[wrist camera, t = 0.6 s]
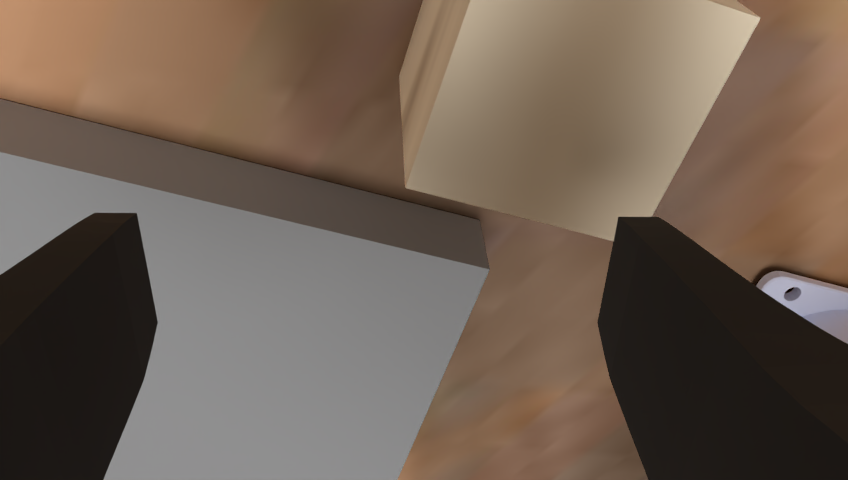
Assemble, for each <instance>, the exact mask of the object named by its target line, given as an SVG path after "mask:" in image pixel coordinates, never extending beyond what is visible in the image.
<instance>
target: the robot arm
mask: <svg viewBox="0 0 848 480" xmlns="http://www.w3.org/2000/svg"><path fill="white" fill-rule="evenodd" d="M792 287H795V288H794V289H793V290H792V291H791V292H788V293H785V292H786V291H787V290H788V289H790V288H792ZM157 324H158V321H157V315H156V310H155V305H154V300H153V295H152V289H151V284H150V279H149V274H148V268H147V263H146V258H145V253H144V248H143V242H142V237H141V232H140V227H139V222H138V216H137V213H93V214H92V215H90V216H88V217H86V218H84V219H83V220H81V221H80V222H78V223H76V224H75V225H73V226H72V227H70V228H69V229H67V230H66V231H64V232H63V233H61V234H60V235H58V236H57V237H55V238H54V239H52V240H51V241H50V242H48V243H47V244H45V245H44V246H42V247H41V248H39V249H38V250H36V251H35V252H33V253H32V254H30V255H29V256H28V257H26V258H25V259H23V260H22V261H20V262H19V263H17V264H16V265H14V266H13V267H11V268H10V269H8V270H7V271H5V272H4V273H2V274H1V275H0V480H103V479H104V477H105V474H106V472H107V470H108V467H109V465H110V462H111V460H112V457H113V455H114V453H115V450H116V448H117V445H118V443H119V440H120V438H121V436H122V433H123V431H124V428H125V426H126V424H127V421H128V419H129V416H130V414H131V411H132V409H133V406H134V404H135V401H136V399H137V396H138V394H139V391H140V388H141V386H142V383H143V381H144V377H145V374H146V370H147V366H148V362H149V358H150V355H151V350H152V346H153V342H154V337H155V333H156V329H157ZM598 327H599V332H600V336H601V341H602V346H603V351H604V355H605V359H606V363H607V368H608V372H609V376H610V379H611V382H612V385H613V388H614V390H615V393H616V396H617V398H618V401H619V404H620V406H621V409H622V412H623V414H624V417H625V420H626V422H627V425H628V428H629V430H630V433H631V435H632V438H633V440H634V443H635V446H636V448H637V451H638V453H639V456H640V459H641V461H642V464H643V466H644V469H645V472H646V474H647V477H648V479H649V480H848V288H845V287H841V286H837V285H833V284H830V283H826V282H822V281H818V280H814V279H810V278H807V277H803V276H799V275H795V274H791V273H787V272H784V271H773V272H770V273H768V274H766V275H764V276H763V277H762V278H761V279H760V281H759V282H758V284H757V285H756V286H755V285H753V284H752V283H750V282H749V281H748V280H746V279H745V278H743V277H742V276H741V275H739V274H738V273H736V272H735V271H734V270H732V269H731V268H729V267H728V266H727V265H725V264H724V263H723V262H721V261H720V260H718V259H717V258H716V257H714V256H713V255H712V254H710V253H709V252H708V251H706V250H705V249H704V248H702V247H701V246H700V245H698V244H697V243H695V242H694V241H693V240H691V239H690V238H689V237H687V236H686V235H684V234H683V233H682V232H680V231H679V230H677V229H676V228H675V227H673V226H672V225H670V224H669V223H667V222H665V221H664V220H662V219H661V218H659V217H618V221H617V226H616V232H615V237H614V242H613V247H612V252H611V257H610V262H609V267H608V272H607V277H606V283H605V288H604V293H603V298H602V303H601V308H600V313H599V318H598Z"/></svg>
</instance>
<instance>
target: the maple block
mask: <svg viewBox="0 0 848 480" xmlns="http://www.w3.org/2000/svg"><path fill="white" fill-rule="evenodd" d="M759 20H760V17H759V16H757V15H756V14H755V13H753V12H752V11H750V10H749V9H748V8H746V7H745V6H744V5H742V4H741V3H740V2H738V1H737V0H423V2H422V5H421V8H420V11H419V14H418V18H417V21H416V24H415V27H414V30H413V33H412V37H411V40H410V43H409V46H408V49H407V53H406V56H405V59H404V62H403V65H402V68H401V72H400V75H399V86H400V103H401V121H402V138H403V156H404V174H405V188H407V189H411V190H415V191H419V192H423V193H427V194H431V195H435V196H438V197H442V198H446V199H450V200H454V201H458V202H462V203H466V204H470V205H474V206H477V207H481V208H485V209H489V210H493V211H497V212H501V213H505V214H509V215H513V216H517V217H520V218H524V219H528V220H532V221H536V222H540V223H544V224H548V225H552V226H556V227H560V228H563V229H567V230H571V231H575V232H579V233H583V234H587V235H591V236H595V237H599V238H603V239H606V240H610V241H614V237H615V232H616V226H617V221H618V217H652V215H653V213H654V212H655V210H656V208H657V206H658V204H659V202H660V201H661V199H662V197H663V195H664V193H665V191H666V190H667V188H668V186H669V184H670V182H671V181H672V179H673V177H674V175H675V173H676V171H677V170H678V168H679V166H680V164H681V162H682V161H683V159H684V157H685V155H686V153H687V151H688V150H689V148H690V146H691V144H692V142H693V140H694V139H695V137H696V135H697V133H698V131H699V130H700V128H701V126H702V124H703V122H704V120H705V119H706V117H707V115H708V113H709V111H710V110H711V108H712V106H713V104H714V102H715V100H716V99H717V97H718V95H719V93H720V91H721V90H722V88H723V86H724V84H725V82H726V80H727V79H728V77H729V75H730V73H731V71H732V69H733V68H734V66H735V64H736V62H737V60H738V59H739V57H740V55H741V53H742V51H743V49H744V48H745V46H746V44H747V42H748V40H749V39H750V37H751V35H752V33H753V31H754V29H755V28H756V26H757V24H758V22H759Z"/></svg>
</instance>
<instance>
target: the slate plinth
mask: <svg viewBox="0 0 848 480" xmlns="http://www.w3.org/2000/svg"><path fill="white" fill-rule="evenodd" d="M93 213H137V216H138V222H139V227H140V232H141V237H142V242H143V248H144V253H145V258H146V263H147V268H148V274H149V279H150V284H151V289H152V295H153V300H154V305H155V310H156V315H157V321H158V324H157V329H156V333H155V337H154V342H153V346H152V350H151V355H150V358H149V362H148V366H147V370H146V374H145V377H144V381H143V383H142V386H141V388H140V391H139V394H138V396H137V399H136V401H135V404H134V406H133V409H132V411H131V414H130V416H129V419H128V421H127V424H126V426H125V428H124V431H123V433H122V436H121V438H120V440H119V443H118V445H117V448H116V450H115V453H114V455H113V457H112V460H111V462H110V465H109V467H108V470H107V472H106V474H105V477H104V479H103V480H397V479H398V477H399V475H400V472H401V470H402V468H403V465H404V463H405V461H406V459H407V456H408V454H409V452H410V450H411V447H412V445H413V443H414V440H415V438H416V436H417V434H418V431H419V429H420V427H421V425H422V422H423V420H424V418H425V416H426V413H427V411H428V409H429V406H430V404H431V402H432V400H433V397H434V395H435V393H436V391H437V388H438V386H439V384H440V381H441V379H442V377H443V375H444V372H445V370H446V368H447V366H448V363H449V361H450V359H451V356H452V354H453V352H454V350H455V347H456V345H457V343H458V341H459V338H460V336H461V334H462V331H463V329H464V327H465V325H466V322H467V320H468V318H469V316H470V313H471V311H472V309H473V306H474V304H475V302H476V300H477V297H478V295H479V293H480V291H481V288H482V286H483V284H484V281H485V279H486V277H487V275H488V272H489V270H490V268H489V263H488V258H487V254H486V249H485V244H484V239H483V234H482V229H481V224H480V220H477V219H473V218H469V217H465V216H461V215H457V214H453V213H449V212H446V211H442V210H438V209H434V208H430V207H426V206H422V205H418V204H414V203H410V202H406V201H402V200H398V199H394V198H390V197H386V196H382V195H378V194H374V193H370V192H366V191H363V190H359V189H355V188H351V187H347V186H343V185H339V184H335V183H331V182H327V181H323V180H319V179H315V178H311V177H307V176H303V175H299V174H295V173H291V172H287V171H284V170H280V169H276V168H272V167H268V166H264V165H260V164H256V163H252V162H248V161H244V160H240V159H236V158H232V157H228V156H224V155H220V154H216V153H212V152H208V151H204V150H201V149H197V148H193V147H189V146H185V145H181V144H177V143H173V142H169V141H165V140H161V139H157V138H153V137H149V136H145V135H141V134H137V133H133V132H129V131H125V130H122V129H118V128H114V127H110V126H106V125H102V124H98V123H94V122H90V121H86V120H82V119H78V118H74V117H70V116H66V115H62V114H58V113H54V112H50V111H46V110H42V109H39V108H35V107H31V106H27V105H23V104H19V103H15V102H11V101H7V100H3V99H0V275H1V274H2V273H4V272H5V271H7V270H8V269H10V268H11V267H13V266H14V265H16V264H17V263H19V262H20V261H22V260H23V259H25V258H26V257H28V256H29V255H30V254H32V253H33V252H35V251H36V250H38V249H39V248H41V247H42V246H44V245H45V244H47V243H48V242H50V241H51V240H52V239H54V238H55V237H57V236H58V235H60V234H61V233H63V232H64V231H66V230H67V229H69V228H70V227H72V226H73V225H75V224H76V223H78V222H80V221H81V220H83V219H84V218H86V217H88V216H90V215H92V214H93Z"/></svg>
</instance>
